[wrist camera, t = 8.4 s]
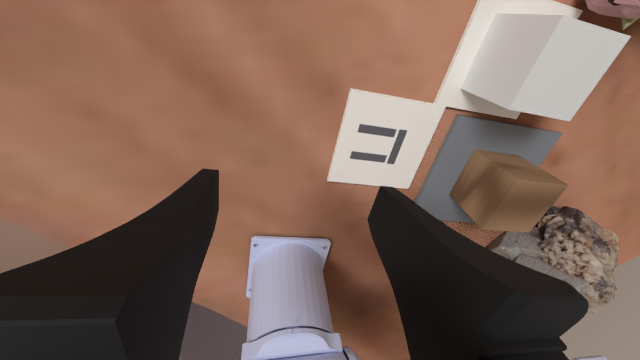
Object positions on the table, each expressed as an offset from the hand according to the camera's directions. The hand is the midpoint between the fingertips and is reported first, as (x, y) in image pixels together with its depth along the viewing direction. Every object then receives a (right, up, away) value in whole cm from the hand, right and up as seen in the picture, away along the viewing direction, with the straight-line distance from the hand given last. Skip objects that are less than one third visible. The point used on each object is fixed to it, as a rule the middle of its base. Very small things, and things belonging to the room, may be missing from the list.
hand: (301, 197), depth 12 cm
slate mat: (+16, +1, +14) cm, 22 cm away
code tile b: (+15, +10, +8) cm, 19 cm away
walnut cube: (+17, +1, +14) cm, 21 cm away
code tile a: (+6, +4, +11) cm, 13 cm away
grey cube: (+15, +10, +8) cm, 19 cm away
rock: (+26, -6, +20) cm, 33 cm away
